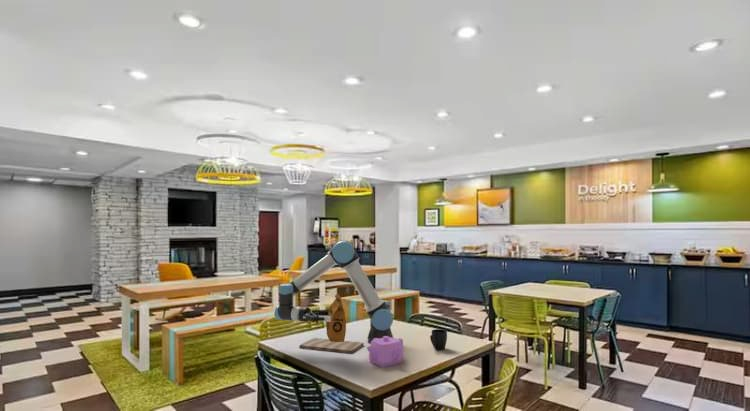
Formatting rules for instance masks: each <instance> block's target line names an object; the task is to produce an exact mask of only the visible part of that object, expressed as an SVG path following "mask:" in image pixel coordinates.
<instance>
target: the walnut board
mask: <svg viewBox="0 0 750 411" xmlns="http://www.w3.org/2000/svg"><path fill="white" fill-rule="evenodd" d="M364 344H365V343H364V342H362V341H361V342H360V341H352V340H351V341H349V340H348V341H347V340H344V342H330V340H329V338H321V337H320V338H319V337H313V338H311V339H309V340H307V341H305V342H303V343H301V344H299V348H300V349H306V350H307V349H308V350H316V351H324V352H325V351H327V352H332V353H333V352H335V353H343V354H350V355H351V354H353V353H355V352H356V351H358V350H359V349H361V348H362V347H364Z"/></svg>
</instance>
